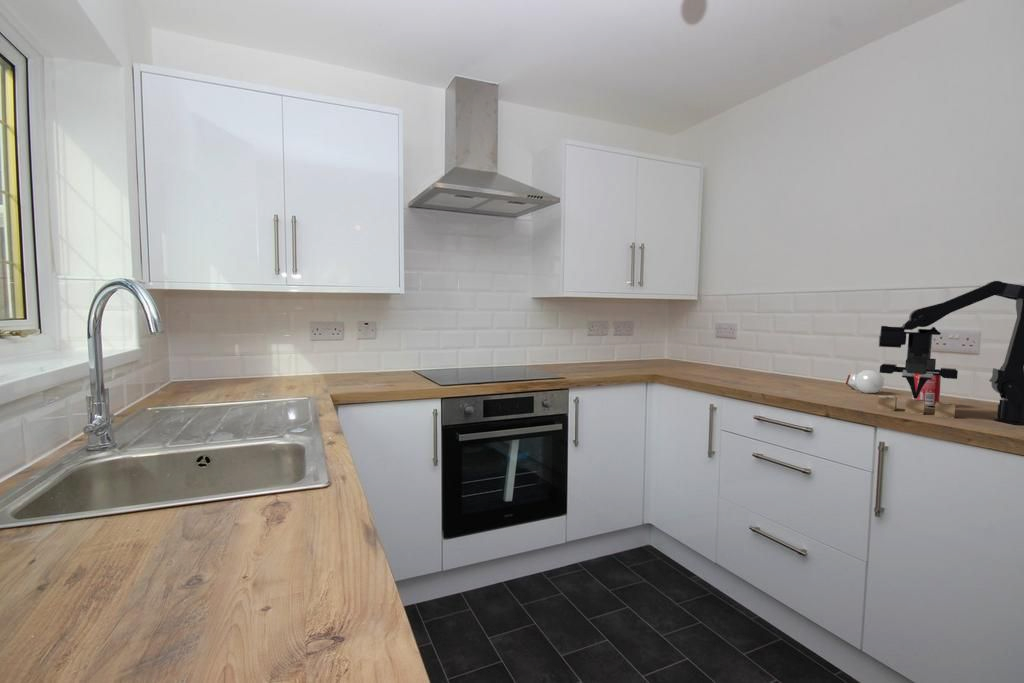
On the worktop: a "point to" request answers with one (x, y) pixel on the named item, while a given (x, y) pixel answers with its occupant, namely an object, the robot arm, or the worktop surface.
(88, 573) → the worktop surface
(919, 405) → the plain block
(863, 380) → the potion bottle
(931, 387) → the soda can
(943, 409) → the pip block near
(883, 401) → the pip block far
